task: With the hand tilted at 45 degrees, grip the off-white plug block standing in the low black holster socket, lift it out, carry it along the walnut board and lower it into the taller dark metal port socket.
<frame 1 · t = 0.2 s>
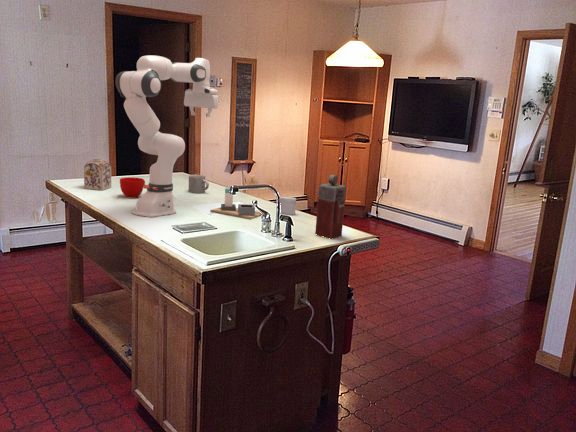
hand: (200, 116, 283), 47 cm above the table, tool pointing down, fingers open, 8 cm apart
holster: (228, 207, 276), on the board, point 1 cm above the table
medicine box: (287, 214, 279), on the table
board: (237, 213, 272), on the table
ceramic cup: (134, 196, 297), on the table
port: (246, 213, 268), resting on board
plug: (228, 198, 275), in the holster, point 6 cm above the table, touching board
coffee mug: (198, 192, 320), on the table
decorative jar: (98, 188, 312), on the table
brown rectangular canister: (330, 236, 240), on the table
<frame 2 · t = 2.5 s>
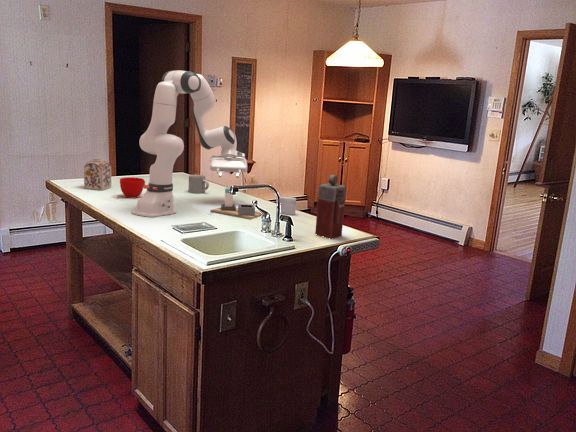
hand: (228, 176, 284), 16 cm above the table, tool tilted 45°, fingers open, 8 cm apart
nothing on the table moved.
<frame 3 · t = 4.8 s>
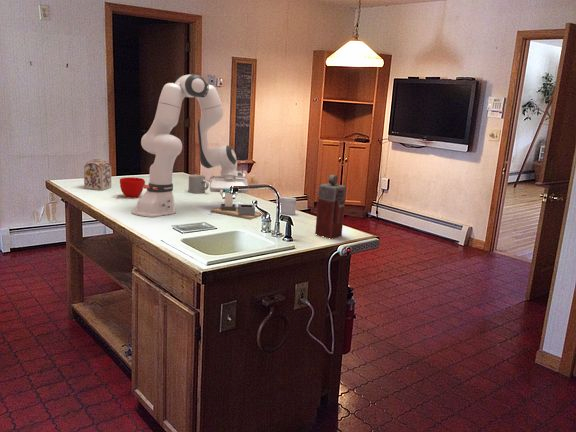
hand: (228, 198, 274), 7 cm above the table, tool tilted 45°, fingers closed on plug, 4 cm apart
plug: (228, 198, 275), in the holster, point 6 cm above the table, touching board, gripper
everything else where it was.
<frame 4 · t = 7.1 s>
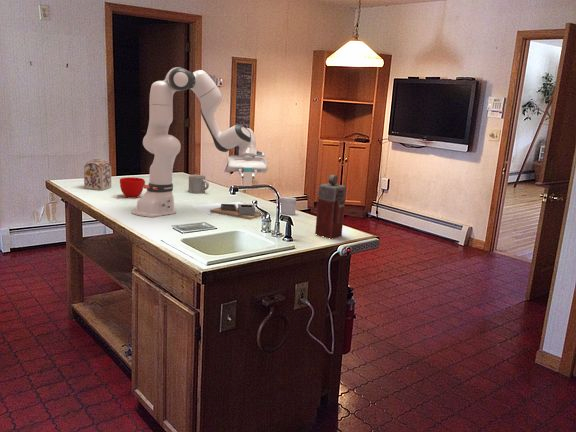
hand: (247, 177, 264), 20 cm above the table, tool tilted 45°, fingers closed on plug, 4 cm apart
plug: (247, 178, 265), point 19 cm above the table, touching gripper
everything else where it was.
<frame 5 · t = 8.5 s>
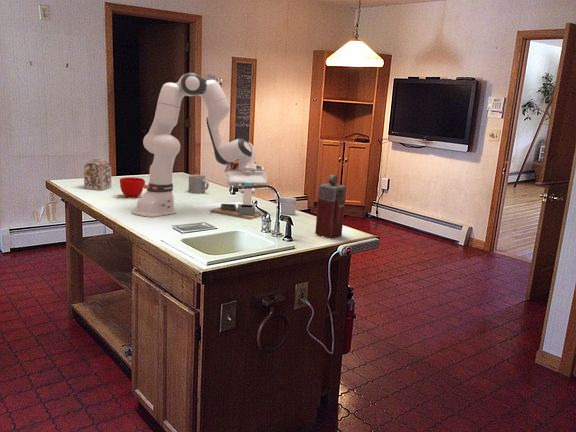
hand: (247, 192, 265), 12 cm above the table, tool tilted 45°, fingers closed on plug, 4 cm apart
plug: (247, 192, 266), point 12 cm above the table, touching gripper
everything else where it was.
when the fingers open (9 cm above the table, at t = 9.5 s): plug drops 2 cm, resting on board.
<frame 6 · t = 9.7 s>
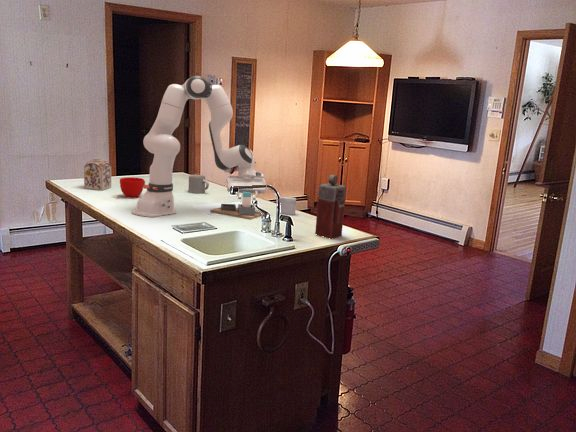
hand: (246, 198, 266), 9 cm above the table, tool tilted 45°, fingers open, 6 cm apart
plug: (246, 203, 267), in the port, point 6 cm above the table, touching board
everything else where it was.
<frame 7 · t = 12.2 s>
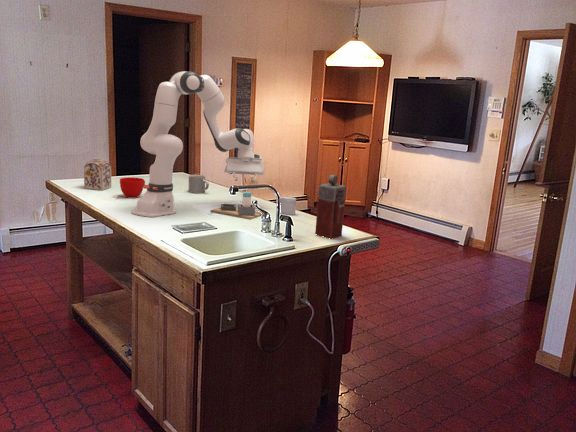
hand: (244, 181, 279), 15 cm above the table, tool tilted 35°, fingers open, 8 cm apart
nothing on the table moved.
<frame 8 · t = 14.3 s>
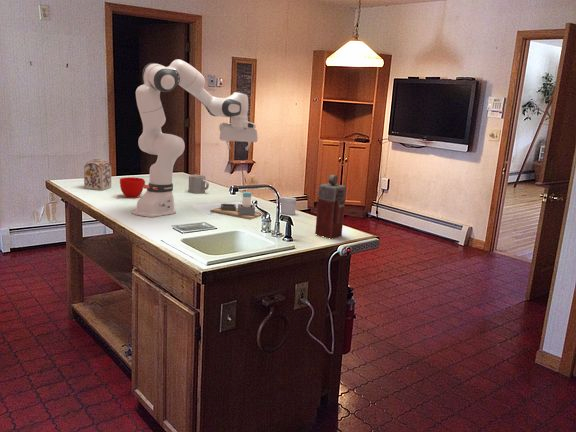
hand: (238, 149, 282), 31 cm above the table, tool pointing down, fingers open, 8 cm apart
nothing on the table moved.
at the end: plug 0.1 cm off-centre on the port, point 5.5 cm above the port's base; plug tilted 0°; the gripper is holding nothing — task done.
